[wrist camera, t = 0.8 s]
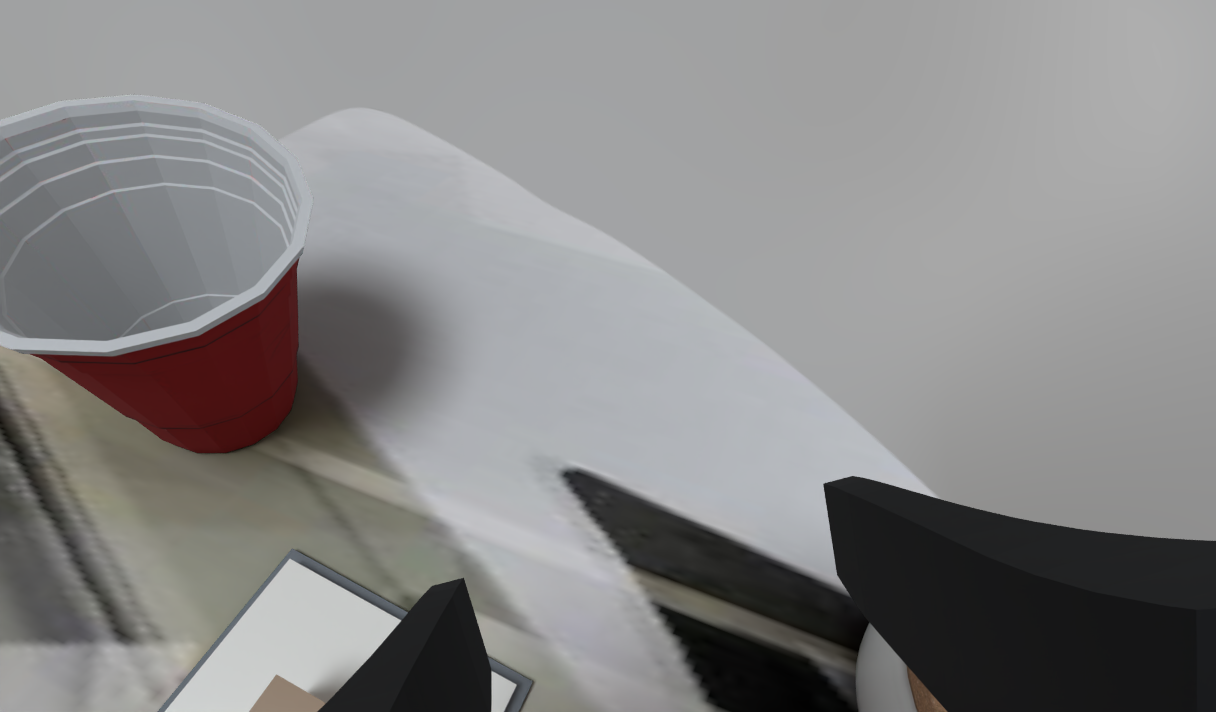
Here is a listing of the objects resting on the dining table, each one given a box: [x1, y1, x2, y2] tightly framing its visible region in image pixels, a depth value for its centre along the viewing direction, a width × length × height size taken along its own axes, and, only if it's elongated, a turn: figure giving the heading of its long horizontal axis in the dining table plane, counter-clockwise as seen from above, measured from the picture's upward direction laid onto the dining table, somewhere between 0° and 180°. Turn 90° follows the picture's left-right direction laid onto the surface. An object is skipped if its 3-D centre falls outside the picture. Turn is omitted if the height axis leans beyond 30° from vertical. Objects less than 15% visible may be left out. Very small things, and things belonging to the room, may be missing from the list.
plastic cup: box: [0, 94, 314, 453], centre depth 23 cm, size 11×11×12 cm
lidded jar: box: [855, 622, 947, 712], centre depth 22 cm, size 11×11×9 cm
